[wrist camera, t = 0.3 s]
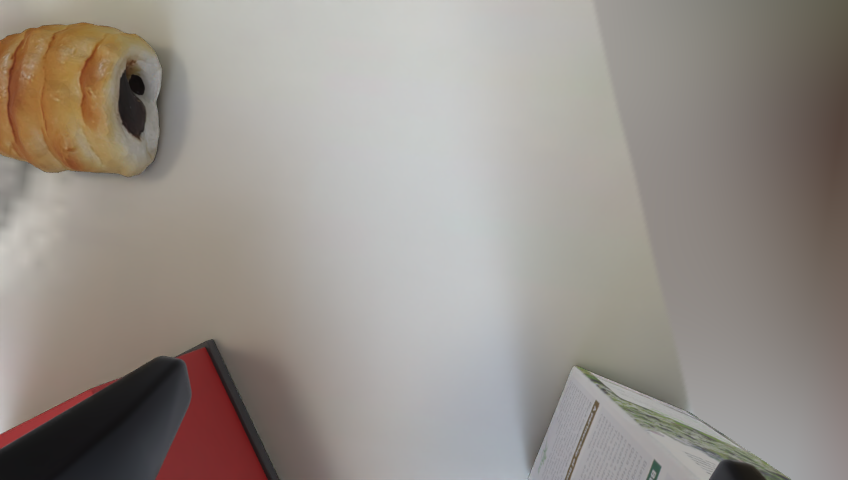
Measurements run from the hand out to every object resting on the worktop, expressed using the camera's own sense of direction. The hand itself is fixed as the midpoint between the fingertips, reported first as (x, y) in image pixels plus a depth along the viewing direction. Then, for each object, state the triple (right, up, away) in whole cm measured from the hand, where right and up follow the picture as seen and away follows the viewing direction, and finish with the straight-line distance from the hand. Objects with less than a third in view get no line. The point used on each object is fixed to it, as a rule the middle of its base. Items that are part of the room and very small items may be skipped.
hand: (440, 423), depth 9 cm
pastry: (-16, +9, +17) cm, 25 cm away
